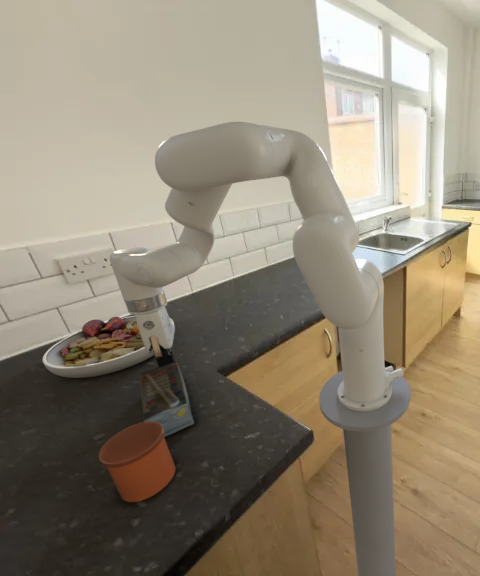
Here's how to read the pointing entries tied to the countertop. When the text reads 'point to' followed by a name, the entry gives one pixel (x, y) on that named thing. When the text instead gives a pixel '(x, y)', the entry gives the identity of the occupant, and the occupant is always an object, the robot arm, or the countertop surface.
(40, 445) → the countertop surface
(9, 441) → the countertop surface
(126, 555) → the countertop surface
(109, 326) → the food platter
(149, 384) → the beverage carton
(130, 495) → the terracotta crock
